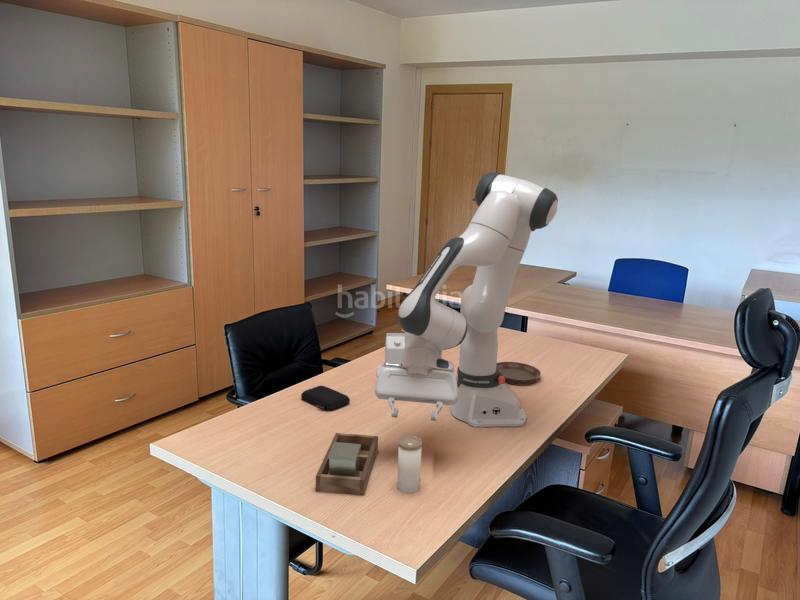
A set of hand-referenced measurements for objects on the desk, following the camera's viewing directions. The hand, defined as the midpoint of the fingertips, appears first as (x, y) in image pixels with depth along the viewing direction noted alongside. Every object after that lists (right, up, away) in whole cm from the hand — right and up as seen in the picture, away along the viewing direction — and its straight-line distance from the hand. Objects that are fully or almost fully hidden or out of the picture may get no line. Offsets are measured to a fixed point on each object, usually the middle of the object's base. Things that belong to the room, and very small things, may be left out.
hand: (414, 418), depth 136 cm
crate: (-16, -14, +2) cm, 21 cm away
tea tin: (-16, -14, -3) cm, 22 cm away
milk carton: (-5, -1, +55) cm, 55 cm away
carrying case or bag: (-27, -4, +42) cm, 50 cm away
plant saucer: (+38, 0, +67) cm, 77 cm away
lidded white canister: (-1, -16, -5) cm, 17 cm away
